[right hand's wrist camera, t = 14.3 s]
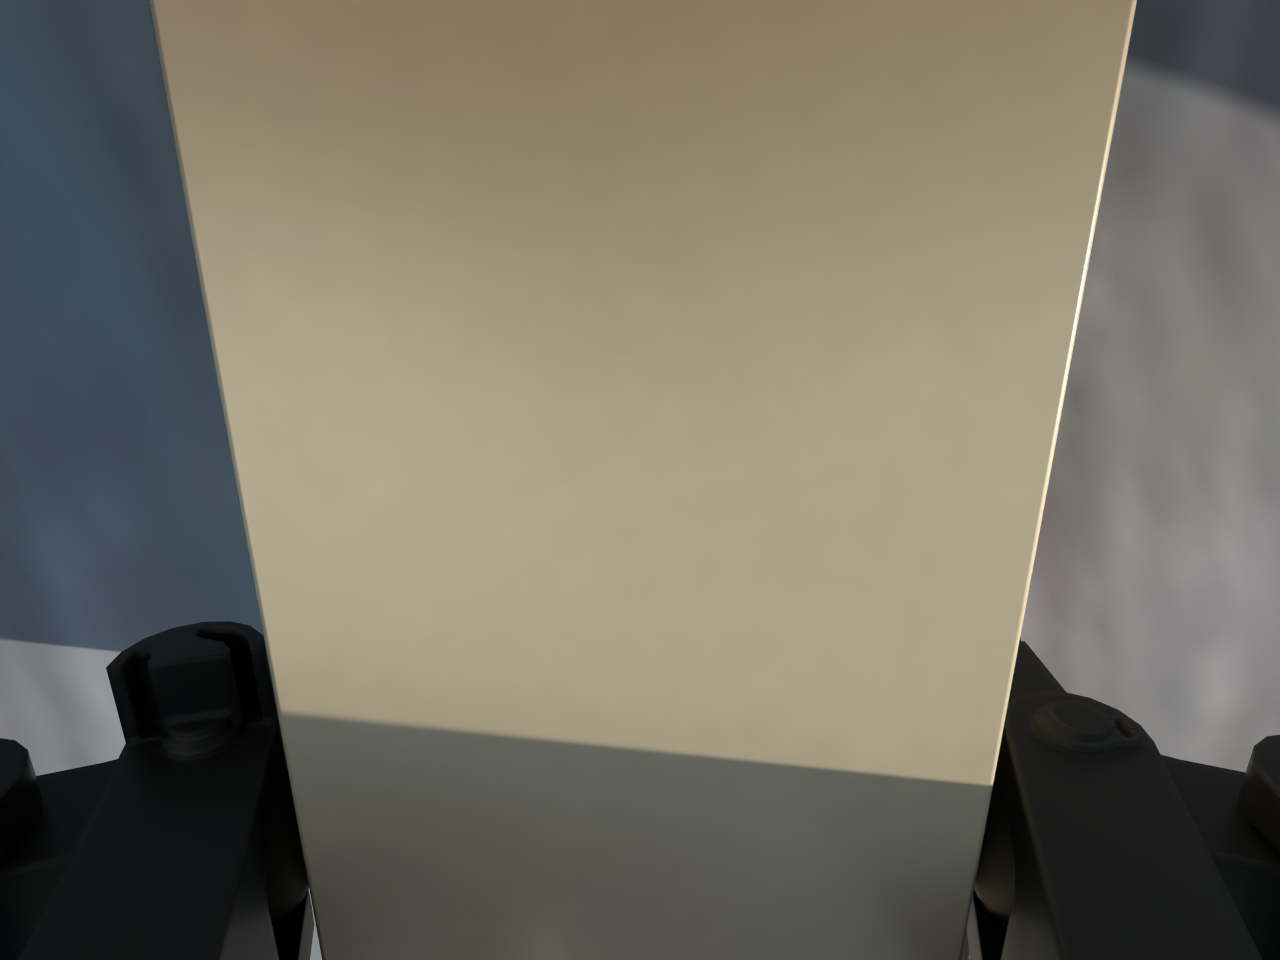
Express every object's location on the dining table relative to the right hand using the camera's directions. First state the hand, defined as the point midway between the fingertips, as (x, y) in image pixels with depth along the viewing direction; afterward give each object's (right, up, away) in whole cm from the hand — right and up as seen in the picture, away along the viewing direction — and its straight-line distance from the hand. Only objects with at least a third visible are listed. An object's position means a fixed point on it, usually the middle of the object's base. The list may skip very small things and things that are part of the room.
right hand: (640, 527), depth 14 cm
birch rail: (0, +12, -4) cm, 13 cm away
